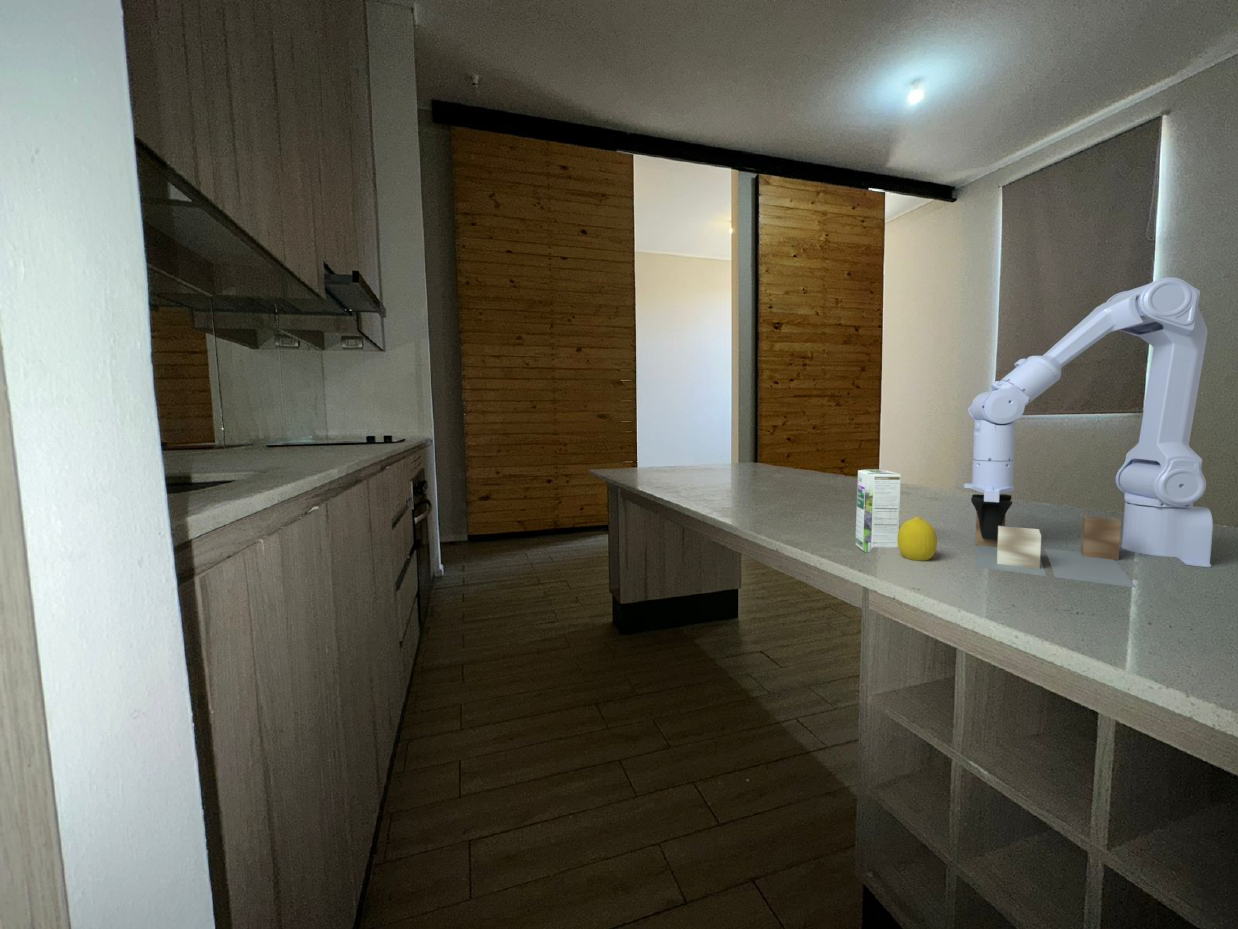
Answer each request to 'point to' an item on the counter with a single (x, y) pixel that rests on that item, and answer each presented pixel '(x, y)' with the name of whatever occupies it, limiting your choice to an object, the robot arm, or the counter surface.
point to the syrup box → (877, 509)
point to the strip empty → (1092, 554)
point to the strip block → (989, 555)
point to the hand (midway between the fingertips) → (989, 536)
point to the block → (1019, 547)
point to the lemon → (917, 540)
